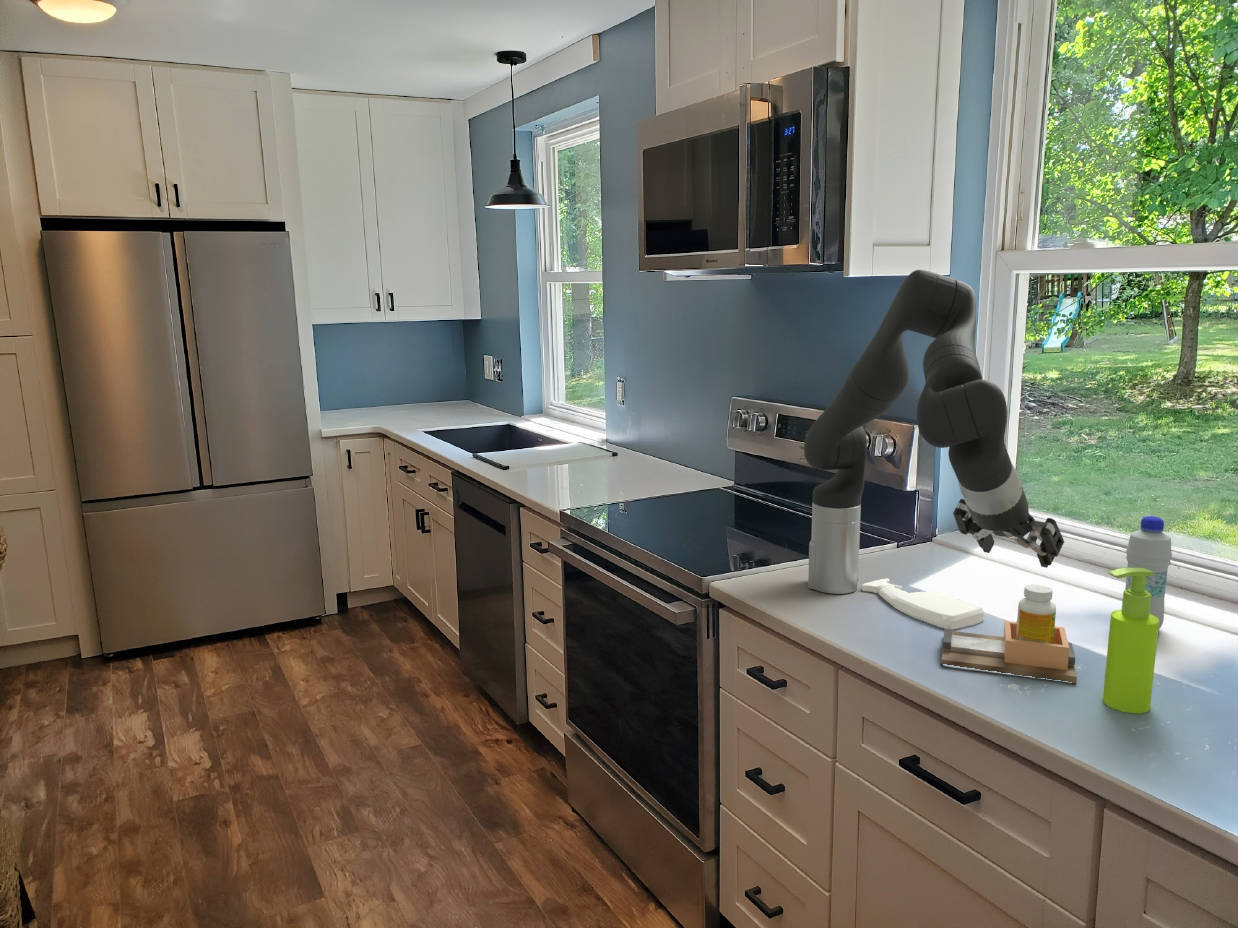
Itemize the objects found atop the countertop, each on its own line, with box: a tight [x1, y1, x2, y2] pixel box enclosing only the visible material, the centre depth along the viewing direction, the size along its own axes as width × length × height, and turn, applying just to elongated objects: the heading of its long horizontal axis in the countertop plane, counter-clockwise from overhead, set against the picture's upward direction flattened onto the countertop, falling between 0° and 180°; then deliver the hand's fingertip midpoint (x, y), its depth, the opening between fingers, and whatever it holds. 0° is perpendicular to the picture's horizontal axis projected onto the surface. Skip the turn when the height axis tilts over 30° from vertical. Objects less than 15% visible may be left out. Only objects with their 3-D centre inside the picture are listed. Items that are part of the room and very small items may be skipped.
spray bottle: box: [861, 578, 985, 631], centre depth 168 cm, size 3×11×24 cm
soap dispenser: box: [1102, 567, 1160, 715], centre depth 126 cm, size 6×7×20 cm
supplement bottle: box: [1016, 584, 1057, 644], centre depth 140 cm, size 5×5×10 cm
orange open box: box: [1002, 620, 1069, 670], centre depth 141 cm, size 9×9×4 cm
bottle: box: [1124, 515, 1173, 631], centre depth 153 cm, size 7×7×20 cm
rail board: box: [941, 630, 1078, 684], centre depth 143 cm, size 19×13×1 cm
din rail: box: [942, 629, 1076, 667], centre depth 143 cm, size 19×6×2 cm, turn 68°
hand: (1017, 554), depth 132 cm, fingers open, 8 cm apart
